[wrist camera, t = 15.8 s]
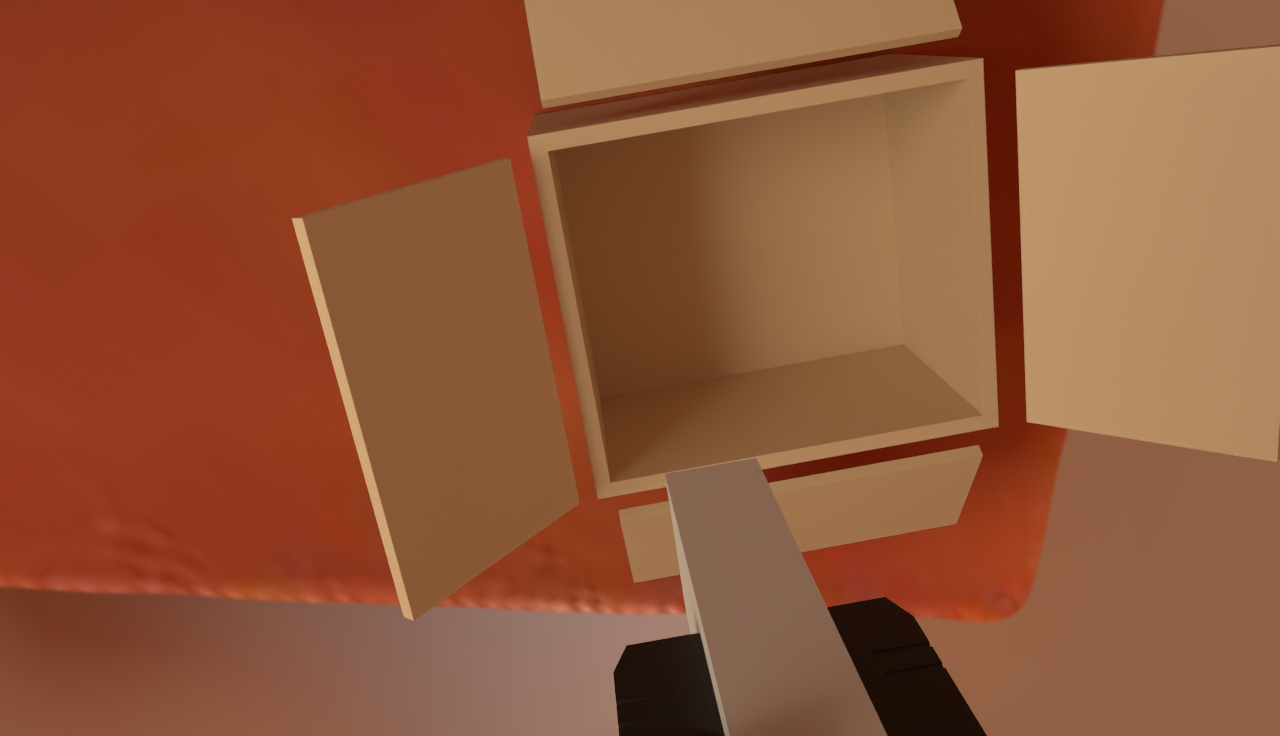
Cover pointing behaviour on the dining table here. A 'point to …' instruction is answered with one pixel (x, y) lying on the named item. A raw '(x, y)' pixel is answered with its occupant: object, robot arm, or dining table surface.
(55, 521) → the dining table surface
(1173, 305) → the flap
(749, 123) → the carton
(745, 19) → the flap
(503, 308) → the flap
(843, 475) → the flap
